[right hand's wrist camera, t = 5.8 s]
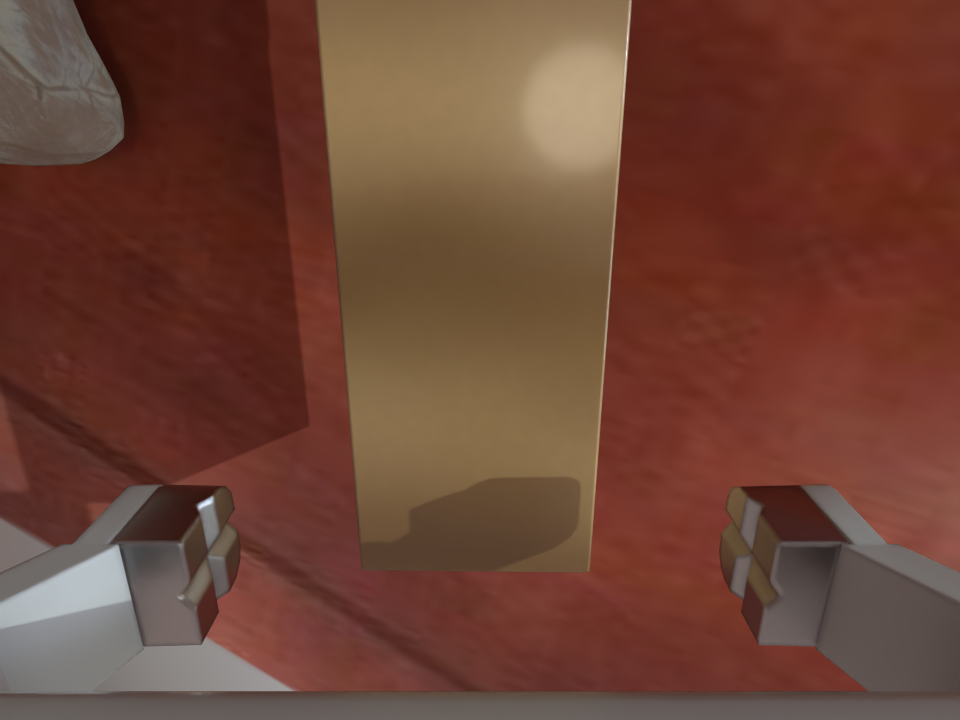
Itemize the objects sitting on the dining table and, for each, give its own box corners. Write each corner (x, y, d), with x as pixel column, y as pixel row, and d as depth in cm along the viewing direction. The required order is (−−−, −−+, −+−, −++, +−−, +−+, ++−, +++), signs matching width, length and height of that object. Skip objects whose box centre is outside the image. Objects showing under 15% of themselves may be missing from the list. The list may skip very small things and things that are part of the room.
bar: (555, 413, 22) (590, 573, 14) (406, 411, 22) (360, 571, 14) (599, -549, 14) (736, -1395, 6) (362, -545, 14) (199, -1375, 6)
